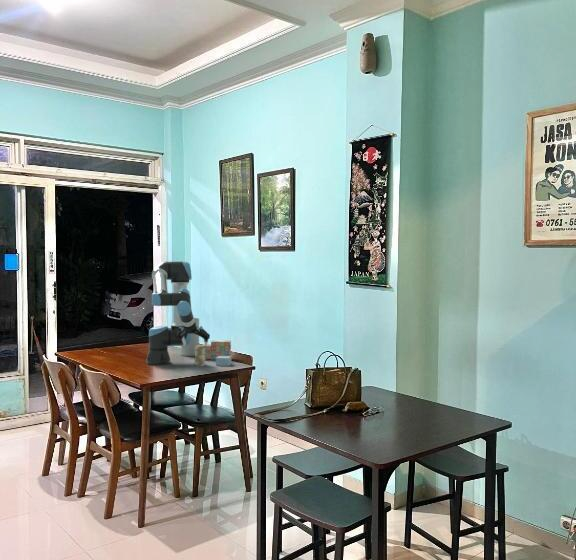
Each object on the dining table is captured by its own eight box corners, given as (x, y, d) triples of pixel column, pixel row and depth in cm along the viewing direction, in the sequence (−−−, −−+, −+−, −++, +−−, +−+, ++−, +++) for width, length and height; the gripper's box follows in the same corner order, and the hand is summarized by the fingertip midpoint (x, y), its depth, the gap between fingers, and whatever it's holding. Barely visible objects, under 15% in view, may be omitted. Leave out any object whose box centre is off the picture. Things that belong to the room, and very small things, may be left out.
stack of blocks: (197, 359, 383) (197, 341, 382) (199, 357, 389) (199, 339, 389) (229, 360, 381) (229, 341, 381) (230, 358, 387) (230, 340, 387)
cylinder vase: (199, 355, 396) (199, 319, 395) (181, 356, 393) (181, 320, 392) (198, 353, 408) (198, 317, 407) (180, 353, 405) (180, 318, 404)
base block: (215, 365, 361) (215, 357, 361) (219, 363, 369) (219, 355, 369) (228, 366, 360) (228, 358, 360) (231, 364, 368) (231, 356, 368)
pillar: (194, 365, 361) (194, 346, 360) (197, 364, 366) (197, 345, 365) (202, 365, 360) (202, 346, 360) (204, 364, 365) (204, 345, 365)
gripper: (166, 327, 336) (174, 348, 351) (208, 328, 333) (214, 349, 348) (169, 317, 341) (177, 338, 356) (210, 317, 338) (216, 339, 353)
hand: (195, 344), depth 352 cm, fingers open, 13 cm apart
